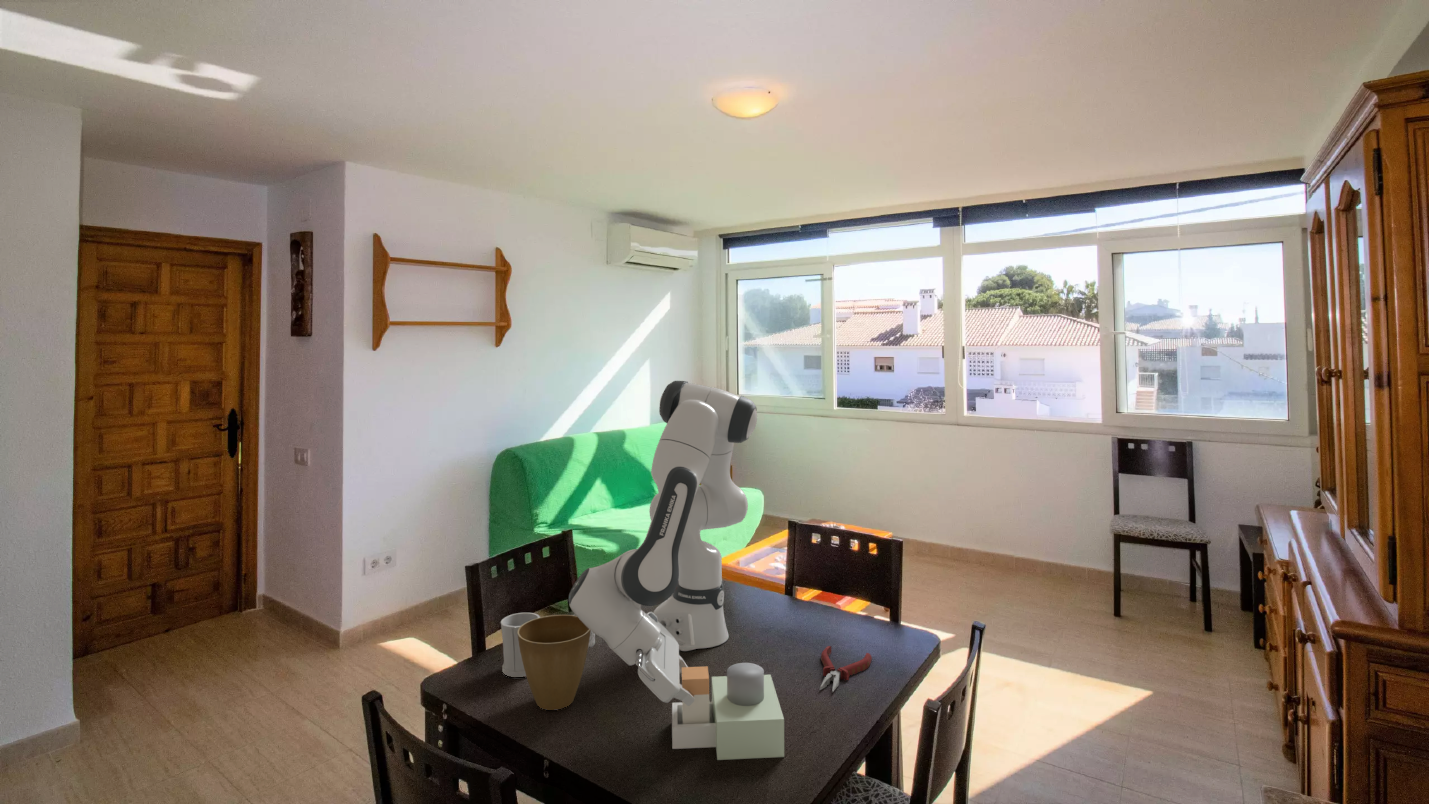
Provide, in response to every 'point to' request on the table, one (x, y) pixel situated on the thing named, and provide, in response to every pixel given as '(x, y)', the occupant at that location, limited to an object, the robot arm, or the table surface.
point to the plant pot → (554, 658)
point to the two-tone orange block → (696, 695)
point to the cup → (513, 643)
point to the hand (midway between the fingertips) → (691, 688)
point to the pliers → (840, 669)
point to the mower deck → (736, 717)
